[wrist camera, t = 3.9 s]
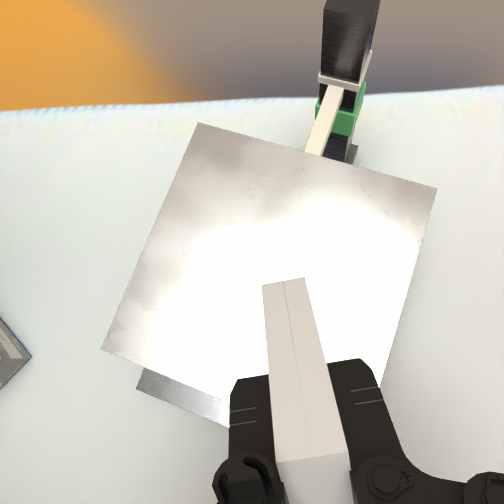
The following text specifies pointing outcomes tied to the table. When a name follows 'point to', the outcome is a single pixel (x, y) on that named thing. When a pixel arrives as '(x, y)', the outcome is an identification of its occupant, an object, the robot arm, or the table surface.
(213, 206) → the pan
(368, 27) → the stand
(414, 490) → the robot arm
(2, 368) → the label tape box
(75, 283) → the table surface
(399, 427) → the table surface
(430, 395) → the table surface
